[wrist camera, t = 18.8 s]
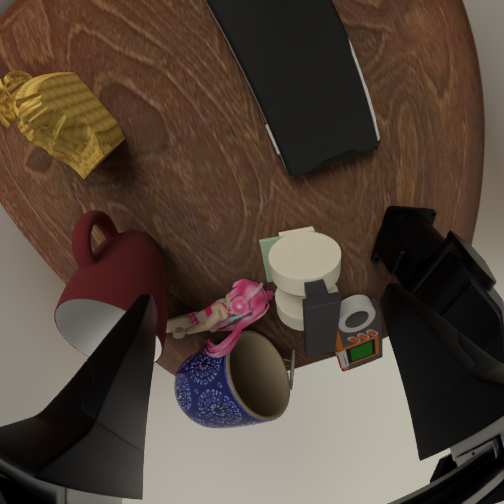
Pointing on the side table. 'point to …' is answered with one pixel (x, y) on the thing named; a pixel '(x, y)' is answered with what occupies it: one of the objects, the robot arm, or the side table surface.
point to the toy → (225, 315)
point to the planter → (234, 384)
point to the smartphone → (301, 79)
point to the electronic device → (359, 332)
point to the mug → (109, 283)
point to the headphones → (308, 286)
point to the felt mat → (265, 249)
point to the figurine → (60, 118)
